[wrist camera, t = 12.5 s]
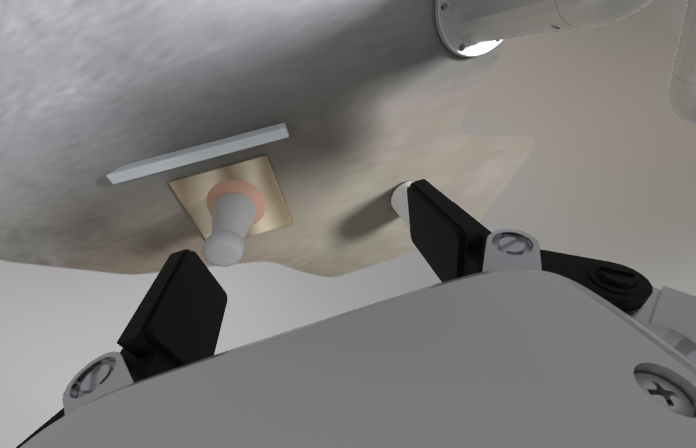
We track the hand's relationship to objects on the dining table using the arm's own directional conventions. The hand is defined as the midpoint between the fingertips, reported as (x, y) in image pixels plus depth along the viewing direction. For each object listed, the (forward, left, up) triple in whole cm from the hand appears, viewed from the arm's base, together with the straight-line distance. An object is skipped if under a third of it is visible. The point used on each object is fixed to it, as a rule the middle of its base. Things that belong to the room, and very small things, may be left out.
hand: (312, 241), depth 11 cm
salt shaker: (+11, +9, -29) cm, 32 cm away
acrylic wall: (+11, 0, -29) cm, 31 cm away
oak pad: (+11, +9, -29) cm, 33 cm away
